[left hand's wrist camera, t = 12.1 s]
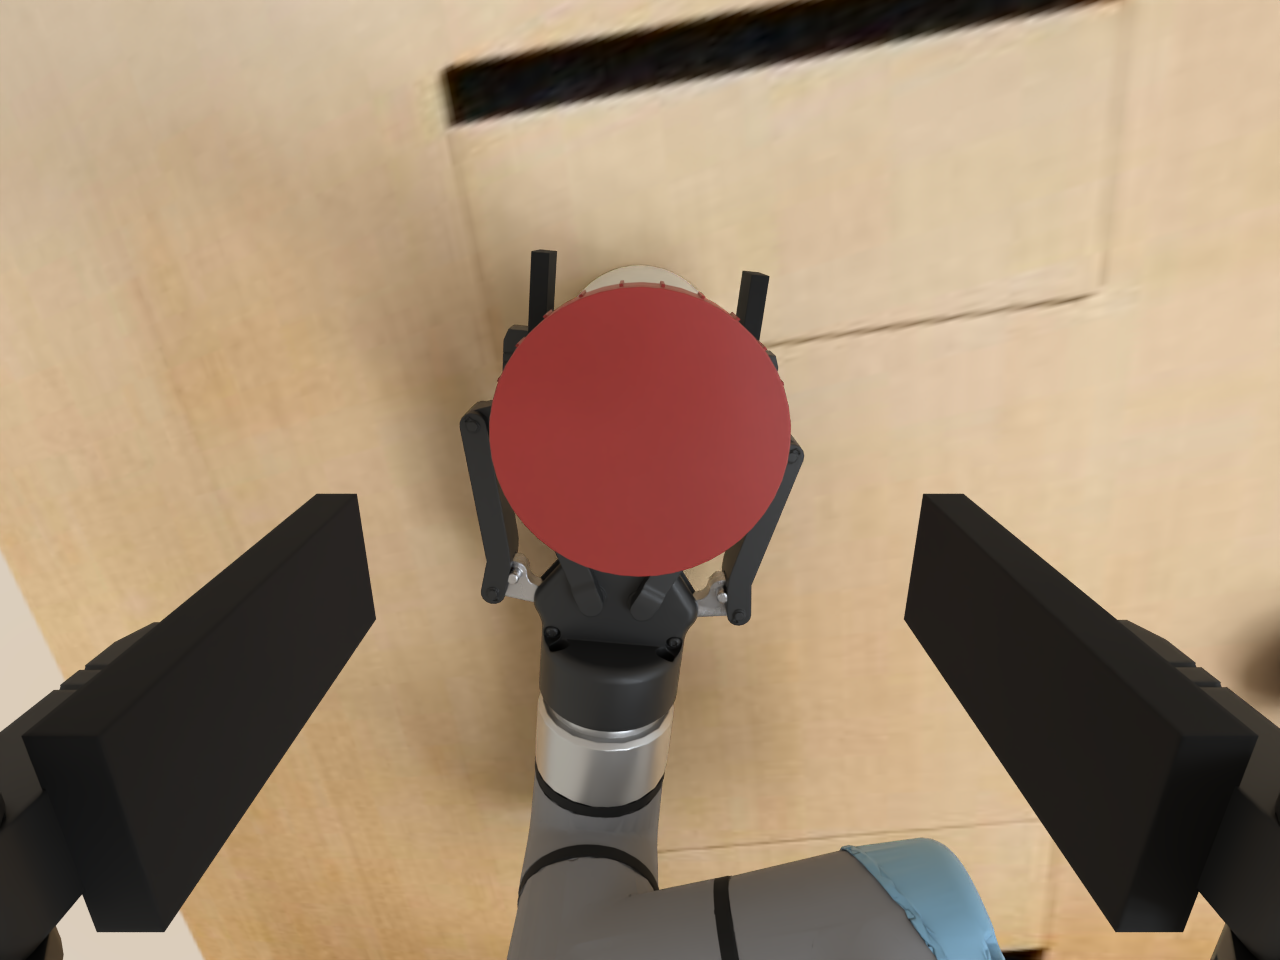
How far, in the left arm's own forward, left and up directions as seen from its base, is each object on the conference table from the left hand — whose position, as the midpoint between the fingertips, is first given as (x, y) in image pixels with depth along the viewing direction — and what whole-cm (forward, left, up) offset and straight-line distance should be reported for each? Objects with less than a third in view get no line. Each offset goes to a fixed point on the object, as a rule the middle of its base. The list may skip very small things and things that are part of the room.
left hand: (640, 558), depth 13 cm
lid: (0, 0, -8) cm, 8 cm away
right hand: (-4, -2, -19) cm, 20 cm away
